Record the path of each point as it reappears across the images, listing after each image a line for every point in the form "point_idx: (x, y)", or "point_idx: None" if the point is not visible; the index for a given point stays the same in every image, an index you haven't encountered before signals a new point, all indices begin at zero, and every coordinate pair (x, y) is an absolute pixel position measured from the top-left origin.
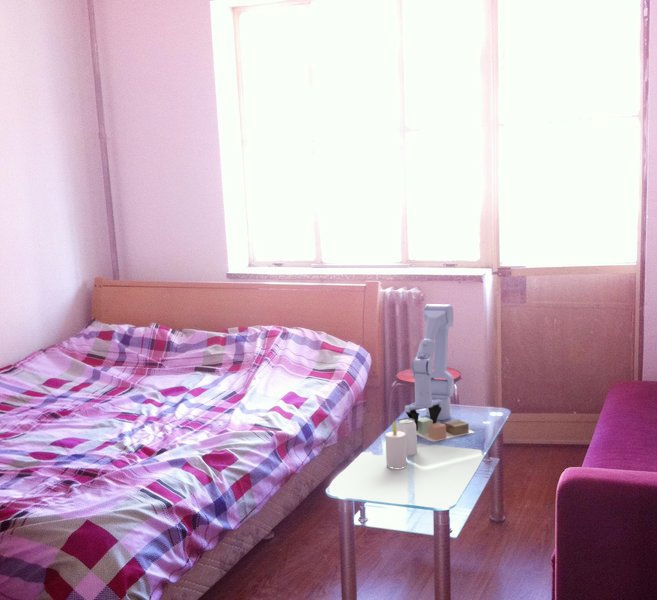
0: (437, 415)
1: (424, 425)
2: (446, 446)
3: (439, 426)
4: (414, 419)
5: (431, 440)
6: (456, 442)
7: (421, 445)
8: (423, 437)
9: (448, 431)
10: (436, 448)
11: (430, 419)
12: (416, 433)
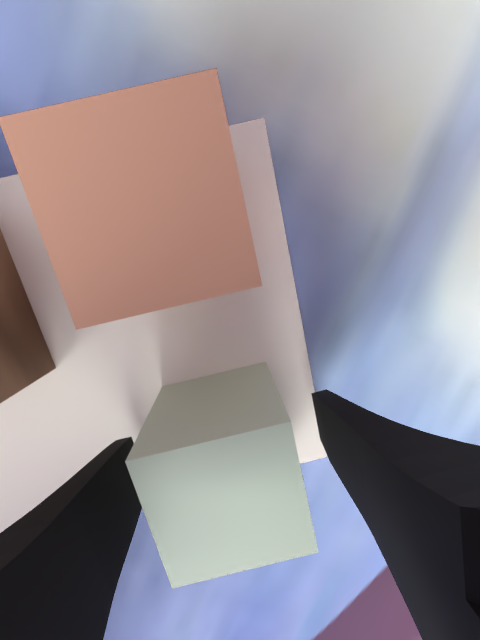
0: (5, 536)
1: (252, 403)
2: (161, 21)
3: (123, 120)
4: (451, 440)
5: (260, 164)
6: (32, 97)
7: (356, 156)
8: (293, 278)
9: (24, 316)
10: (270, 7)
11: (146, 490)
12: (304, 397)
